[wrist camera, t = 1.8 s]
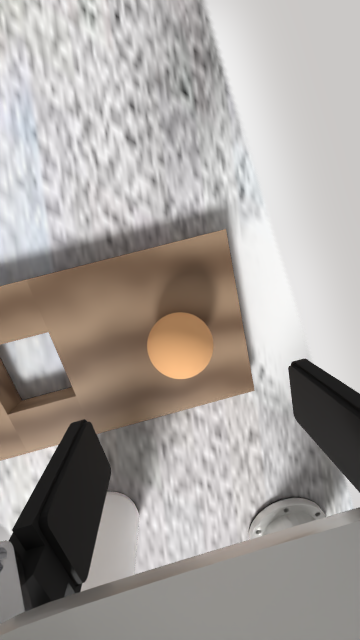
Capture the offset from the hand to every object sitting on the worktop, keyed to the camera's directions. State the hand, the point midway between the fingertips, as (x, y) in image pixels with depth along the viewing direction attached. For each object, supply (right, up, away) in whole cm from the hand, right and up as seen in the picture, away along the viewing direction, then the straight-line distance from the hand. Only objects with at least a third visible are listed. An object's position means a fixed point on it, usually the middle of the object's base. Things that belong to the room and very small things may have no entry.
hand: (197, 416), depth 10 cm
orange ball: (-1, +2, +10) cm, 10 cm away
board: (-9, +1, +15) cm, 17 cm away
